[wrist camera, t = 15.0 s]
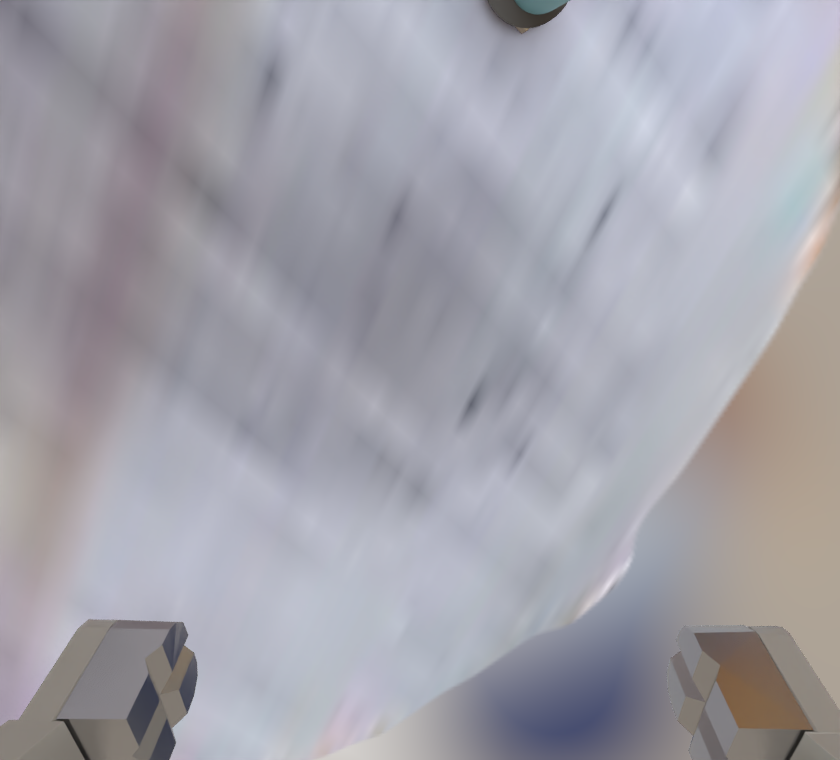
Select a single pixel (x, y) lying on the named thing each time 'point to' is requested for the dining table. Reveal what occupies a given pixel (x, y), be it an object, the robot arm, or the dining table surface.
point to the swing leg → (539, 5)
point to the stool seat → (521, 14)
